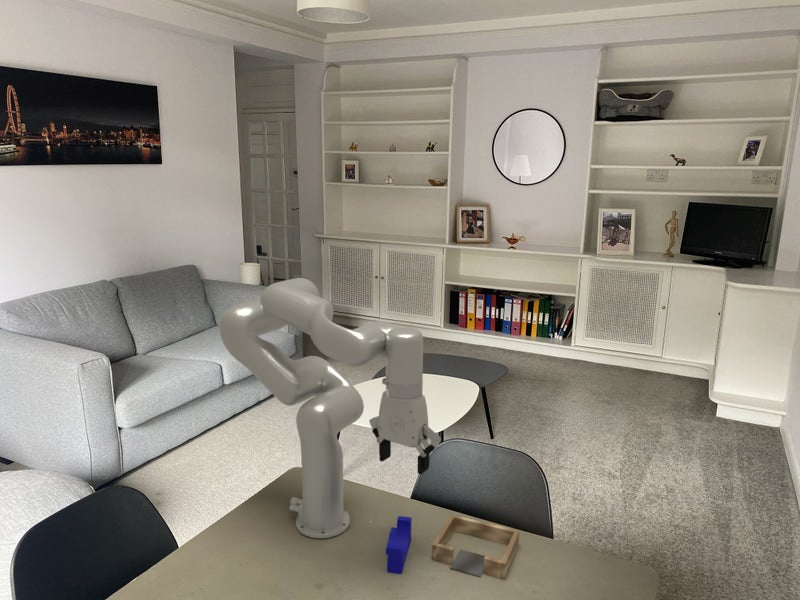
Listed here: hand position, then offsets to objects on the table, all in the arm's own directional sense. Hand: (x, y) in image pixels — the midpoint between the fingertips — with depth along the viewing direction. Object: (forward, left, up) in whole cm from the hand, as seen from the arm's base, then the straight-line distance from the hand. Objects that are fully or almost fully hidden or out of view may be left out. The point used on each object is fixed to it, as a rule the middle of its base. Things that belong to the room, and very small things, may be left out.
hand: (403, 465), depth 130 cm
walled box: (+14, +8, -21) cm, 27 cm away
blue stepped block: (-1, -1, -22) cm, 22 cm away
